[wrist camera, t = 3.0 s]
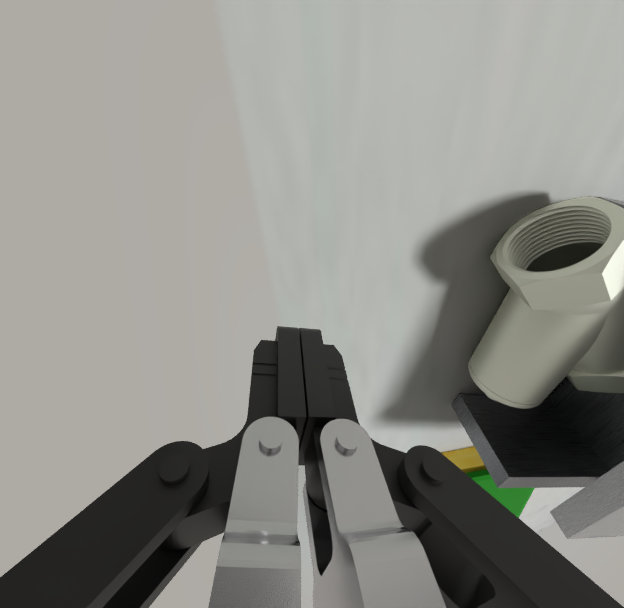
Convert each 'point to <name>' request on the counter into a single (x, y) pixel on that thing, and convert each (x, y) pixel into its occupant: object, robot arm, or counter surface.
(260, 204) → the counter surface
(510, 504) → the dish sponge
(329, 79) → the counter surface
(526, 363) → the pipe fitting
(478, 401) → the bracket
